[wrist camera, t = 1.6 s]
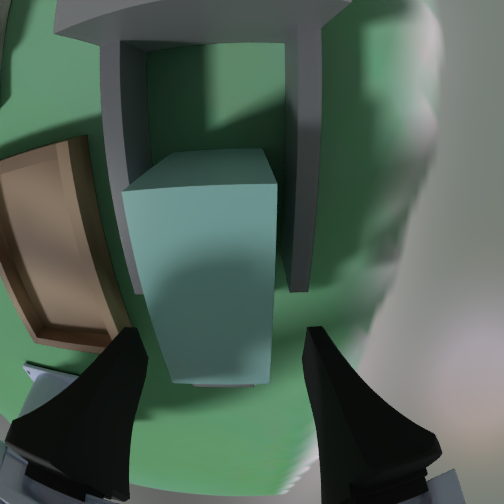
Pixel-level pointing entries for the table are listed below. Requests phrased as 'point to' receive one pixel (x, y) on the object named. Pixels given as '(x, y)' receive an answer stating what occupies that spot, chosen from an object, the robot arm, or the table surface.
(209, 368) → the tall teal block
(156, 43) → the bay
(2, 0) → the packaged product
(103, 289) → the tray
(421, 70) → the table surface
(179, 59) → the table surface
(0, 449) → the robot arm
